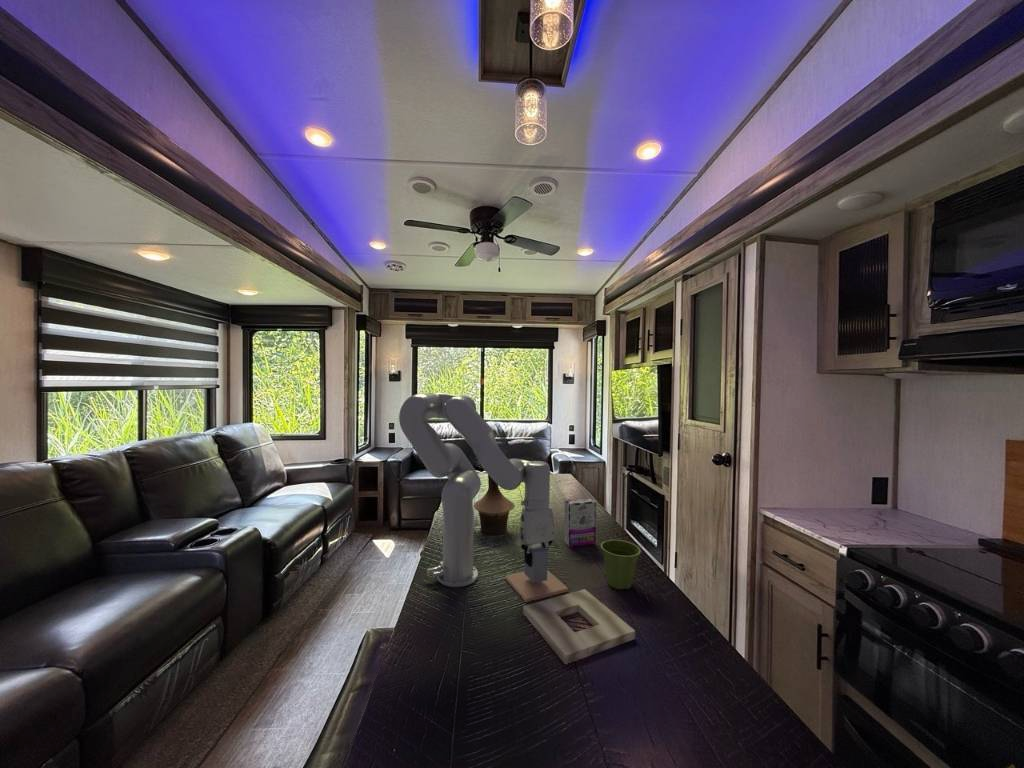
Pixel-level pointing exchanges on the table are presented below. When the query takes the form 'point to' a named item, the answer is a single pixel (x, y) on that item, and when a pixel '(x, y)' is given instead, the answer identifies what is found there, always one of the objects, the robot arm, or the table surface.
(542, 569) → the block
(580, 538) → the candy bar box
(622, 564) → the plant pot
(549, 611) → the holder
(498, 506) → the brown vase
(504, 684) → the table surface
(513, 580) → the tile
